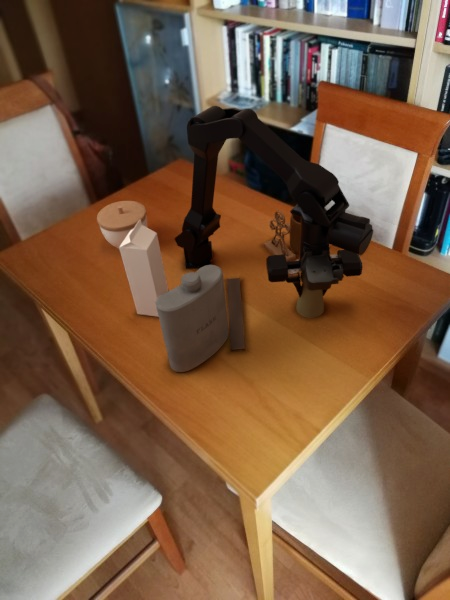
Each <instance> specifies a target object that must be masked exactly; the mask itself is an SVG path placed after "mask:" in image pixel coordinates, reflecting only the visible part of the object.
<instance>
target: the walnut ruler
mask: <svg viewBox="0 0 450 600" xmlns="http://www.w3.org/2000/svg"><path fill="white" fill-rule="evenodd" d="M226 287H227V288H226V289H227V307H228V331H229V347H230V349H229V350H230V352H244V351H246V343H245V332H244V331H245V329H244V317H243V304H242V293H241V279H240V277H235V278H227V279H226Z"/></svg>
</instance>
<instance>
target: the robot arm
mask: <svg viewBox="0 0 450 600" xmlns="http://www.w3.org/2000/svg"><path fill="white" fill-rule="evenodd" d="M186 136H187V144H188V146H189V147H190V149H191V151H192V152H193V169H192V184H191V199H190V209H189V210H188V212H187V214H186V216H185V217H184V219H183V221H182V222H183V223H182V226H181V232H180V233H179V234H178V235H177V236H175V237H174V241H175V244H176V246H177V247H179V248H181V249H183V254H184V268H185V269H200V268H201V267H203V266H206V265H212V261H213V260H214V251H213V244H212V243H213V242H212V240H210V239H209V238H210V237H211V236H213V235H214V233H215V232H216V231H217V230H218V229H220V228H221V224H220V223H221V218H222V215H221V214H219V213H217V212H216V210H215V208H214V197H215V189H216V179H217V170H218V161H219V154H220V152H221V150H222V148H223V146H224V145H225V143H226V141H227V140H230V139H238V140H239V141H241V142H242V143H243V145H245V146H246V147H247V148H248V149H249V150H250V151H252V153H254V154H255V156H257V157H258V158H259V159H260V160H261V161H262V162H263V163H264V164H266V165H267V166H268V168H270V169H271V170H272V171H273V172H274V173H276V174H277V176H279V178H281V179H282V181H283V182H284V183H285V185H286V187H287V190H288V194H289V195H290V197H291V198H292V199H293V201H294V202H295V203H296V205H295V206H294V207H292V208H291V210H290V211H289V213H290V214H294V215H297V216H300V217H301V226H300V252H299V254H298V255H299V258H298V259H296V260H291V261H286V256H285V254H282V255H273V254H270V255H267V257H266V259H265V266H266V267H265V268H266V274H267V280H268V282H270V283H280V282H281V283H282V282H286V283H288V284H292V285H293V286H294V288H295V289H296V292H297V295H298V298H299V297H301V295H302V289H301V286H302V282H301V279H300V273H301V272H305V280H306V287H307V289H308V290H310V291H314V290H321V289H323V297H324V296H325V295H326V293H327V292H328V290H330V289H331V288H332V285H338V284H339V282H342V281H343V279H344V277H360V276H361V275H362V274H363V262H362V259H361V256H363V255H364V254H365V253H366V251H367V250H368V248H369V246H370V244H371V241H372V239H373V234H374V229H373V225H372V224H371V219H370V218H369V217H365V216H359V215H355V214H353V213H348V212H346V211H347V209H348V208H349V207H350V203H349V201H348V200H347V198H346V195H345V194H344V192H343V190H342V188H341V187H340V185H339V182H340V181H339V179H338V178H337V176H336V175H335V174H334V173H333V172H331V171H330V170H328V169H327V168H325V167H324V166H322V165H321V164H318V163H316V162H312V161H308V160H306V159H305V158H303V157H302V156H301V155H299V154H298V153H297V152H296V151H295V150H294V149H293V148H291V146H289V145H288V144H287V143H286V142H285V141H284V140H283V139H282V138H281V137H280V136H279V135H277V134H276V133H275V131H273V130H272V129H271V128H270V127H269V126H268V125H267V124H265V123H264V122H263V121H262V120H261V119H260V118H259V115H258V114H257V113H256V111H254V110H253V109H251V108H244V109H243V108H242V109H240V108H237V107H228V108H227V107H226V108H222V107H221V106H219V105H211V106H210V107H208V108H206V109H205V110H203V111H202V112H199V113H198V114H195V115H194V116H192V117H191V118H189V119H188V120H187V123H186ZM331 202H333V204H332V205H331V206H330V207H329V208H328V209H326V208H327V206H328V205H329V204H330V203H331ZM330 245H331V246H333V247H336V248H339V249H338V250H337V251H336V254H330V253H331V251H330V250H331V247H330Z"/></svg>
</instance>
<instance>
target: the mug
mask: <svg viewBox="0 0 450 600" xmlns="http://www.w3.org/2000/svg"><path fill="white" fill-rule="evenodd" d="M290 214H291V213H290ZM289 225H290V227H291V231H290V233H289V248H290V251H292V252H293V253H294V254H296V255H299V252H300V226H301V217H300V216H297V215H294V214H291V215H290V221H289Z"/></svg>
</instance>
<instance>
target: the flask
mask: <svg viewBox="0 0 450 600" xmlns="http://www.w3.org/2000/svg"><path fill="white" fill-rule="evenodd" d="M180 283H181V284H179V285H177V286H176V287H174V288H172V289H170V290H169V291H168V292H166V293H164V294H162V295H160V296H159V297H158V298H157V299H156V302H155V303H156V308H157V312H158V316H159V317H158V320H159V324H160V329H161V333H162V338H163V342H164V345H165V346H164V347H165V349H166V354H167V357H168V362H169V367H170V368H171V370H172V371H175V372H177V373H184V372H189V371H191V370H193V369H195V368H196V367H198V366H200V365H201V364H203V363H205V362H206V361H207V360H208V359H210V358H211V357H212V356H214V355H215V354H216V353H217V352H219V350H220V349H221V348H222V346H223V345H224V344H225V343H226V342H227V340H228V338H229V336H230V330H229V320H228V311H227V302H226V292H225V282H224V271H223V269H222V268H221V267H220V266H218V265H216V264H211V265H206V266H203V267H200V268H198V270H197V271H195V272H193V271H190V272H187V273H184V274H183V275H182V276H181V278H180Z"/></svg>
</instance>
